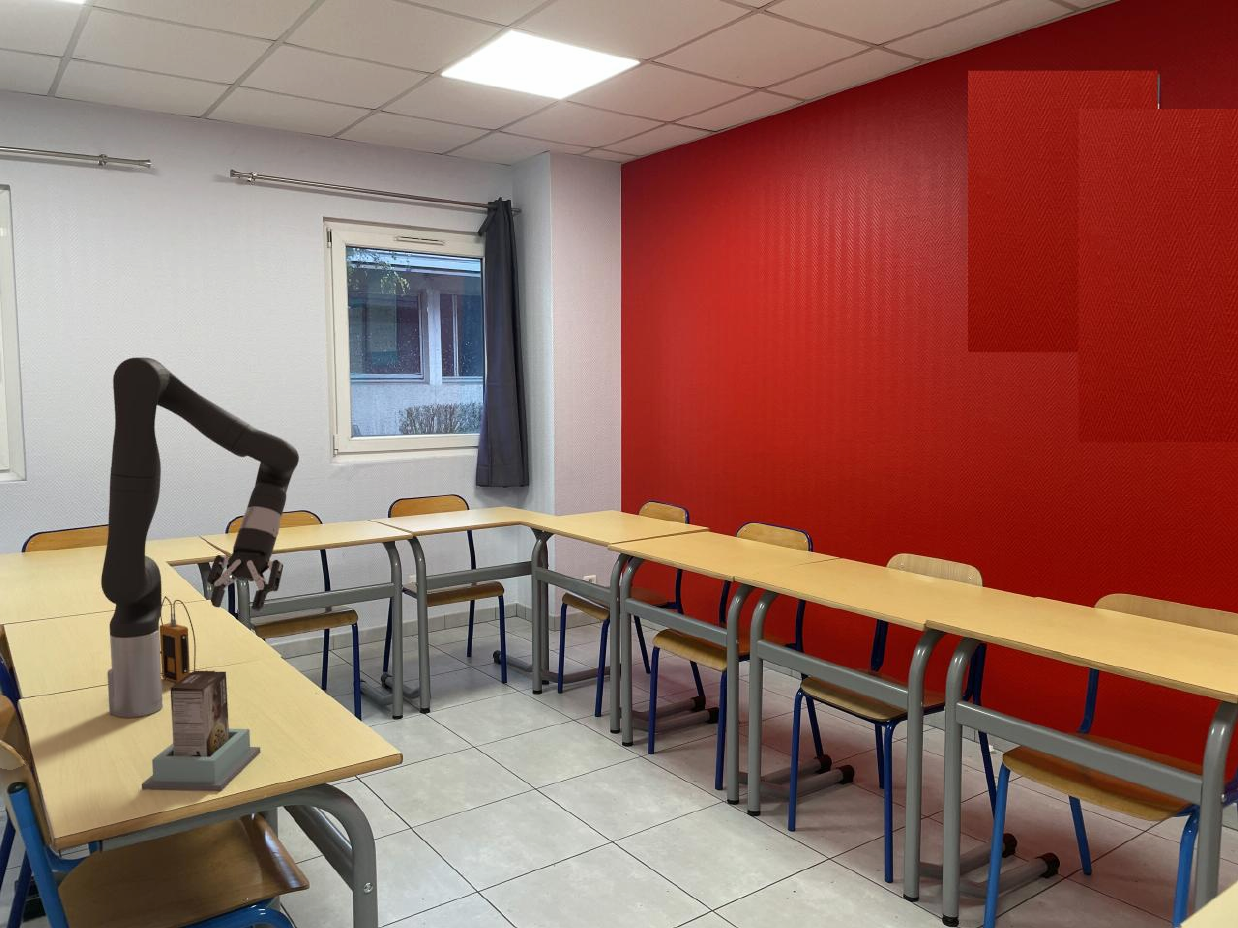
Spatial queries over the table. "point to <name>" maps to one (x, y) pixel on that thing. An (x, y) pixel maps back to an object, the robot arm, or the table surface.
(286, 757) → the table surface
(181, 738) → the coffee box
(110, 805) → the table surface
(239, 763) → the box
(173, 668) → the multimeter
